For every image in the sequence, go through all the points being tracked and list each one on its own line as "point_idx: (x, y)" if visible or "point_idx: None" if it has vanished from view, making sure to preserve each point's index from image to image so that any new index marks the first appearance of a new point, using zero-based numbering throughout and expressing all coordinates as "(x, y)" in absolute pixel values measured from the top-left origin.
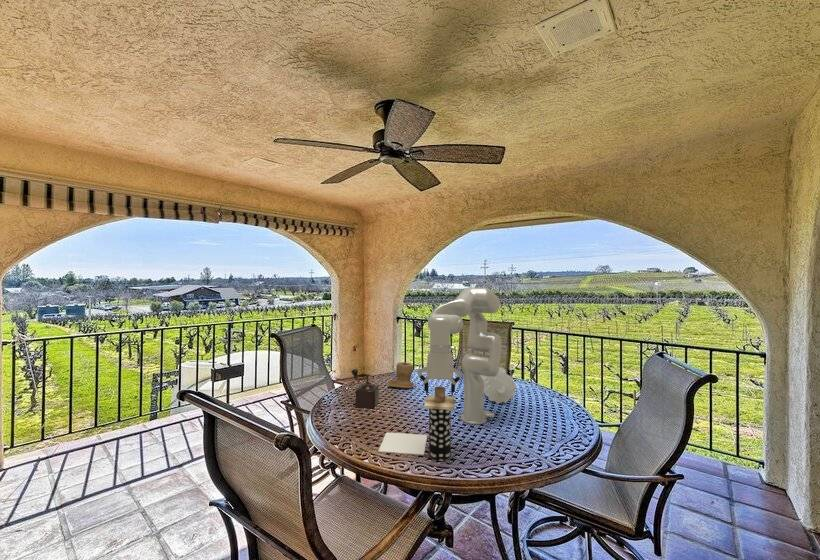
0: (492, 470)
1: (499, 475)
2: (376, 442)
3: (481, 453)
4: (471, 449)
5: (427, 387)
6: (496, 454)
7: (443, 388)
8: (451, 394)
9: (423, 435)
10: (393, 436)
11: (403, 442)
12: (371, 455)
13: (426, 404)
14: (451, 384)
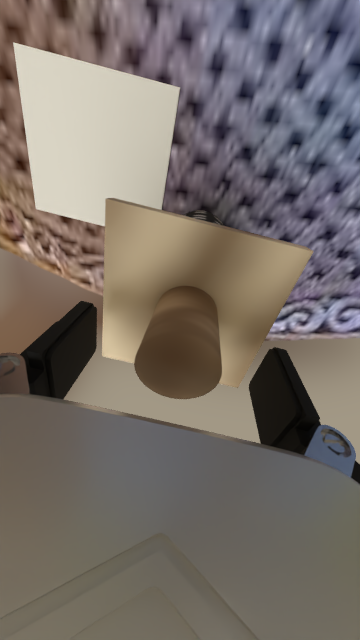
0: (295, 315)
1: (299, 331)
2: (10, 139)
3: (315, 245)
4: (299, 218)
5: (71, 381)
6: (354, 254)
7: (205, 380)
8: (250, 388)
9: (164, 92)
10: (52, 95)
11: (95, 156)
12: (27, 224)
13: (111, 344)
14: (272, 444)
